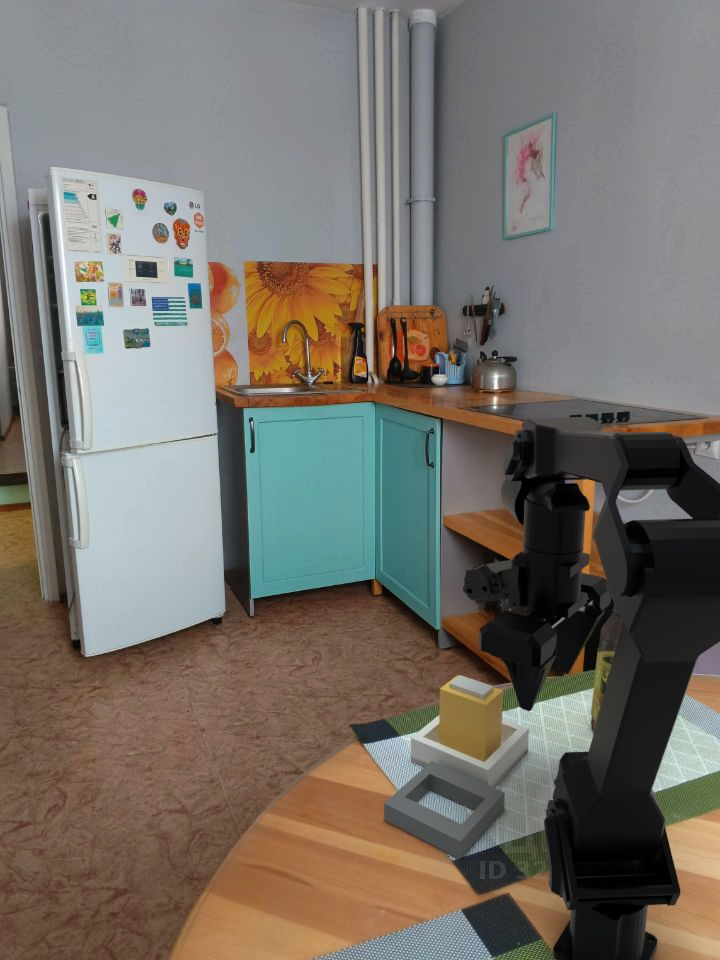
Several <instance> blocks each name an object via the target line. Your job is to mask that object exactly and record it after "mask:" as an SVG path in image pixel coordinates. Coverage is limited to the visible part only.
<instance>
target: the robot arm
mask: <svg viewBox="0 0 720 960" xmlns="http://www.w3.org/2000/svg"><path fill="white" fill-rule="evenodd" d="M603 427H604V425H603V424H602V423H601V422H599V421H597V420H595V419H594V418H591V417H589V416H580V417H579V416H574V417H571V416H570V417H566V416H565V417H563V416H562V417H527V418H526V419H524V420H523V421H522V423H521V429H519V430H518V429H517V430H516V431H515V434H514V437H513V441H511V443H510V446H509V447H508V449H507V450H508V451H507V453H506V455H505V457H504V461H503V464H502V469H503V474H504V476H505V479H504V481H503V484H502V486H501V488H500V497H501V501H502V504H503V505H504V507H505V508H506V509H507V510H508V512H509V513H510V514H511V515H512V516H513V517H514V519H516V521H517V522H518V523H519V524H520V525H521V526H523V534H522V535H523V538H522V551H520V552H519V553H517V554H515V555H514V556H513V557H512V559H509V560H502V561H496V562H490V563H487V564H486V563H485V564H482V565H480V566H478V567H477V566H476V565H474V566H472V567H470V568H468V569H466V570H465V575H464V577H463V580H464V581H463V582H464V583H463V586H462V591H463V593H465V595H466V597H467V598H468V599H469V600H471V601H474V603H475V604H476V605H482V604H483V605H484V604H485V603H486V602H493V601H499V600H500V601H501V600H507V606H509V607H514V608H518V609H519V608H520V609H521V608H524V611H525V612H527V613H528V615H523V614H519V613H515V612H512V611H507V610H504V611H502V612H501V613H499V614H497V616H495V617H494V618H492V619H490V621H488V622H487V623H485V624H483V625H482V626H481V627H480V628H479V629H478V649H479V650H480V652H484V653H487V654H489V655H490V656H492V657H495V658H498V659H500V660H501V661H502V662H503V664H504V665H505V668H506V669H507V672H508V674H509V677H510V680H511V683H512V686H513V689H514V690H513V691H514V693H515V696H516V700H517V702H518V705H519V708H520V709H521V710H524V711H526V712H531V711H532V710H533V709H534V706H535V704H536V702H537V700H538V697H540V696H539V695H540V694H541V691H542V689H543V686H544V684H545V682H546V679H547V677H548V674H549V673H550V670H551V668H552V666H553V664H554V662H555V659H556V662H557V670H558V672H559V673H562V674H565V675H568V674H570V673H571V671H572V669H573V667H574V666H575V663H576V662H577V661H578V658H579V656H580V655H581V654H582V653H581V652H582V651H583V649H584V648H585V645H587V643H588V641H589V639H590V638H591V636H592V634H593V632H594V631H595V629H596V627H597V626H598V624H599V622H600V620H601V619H602V617H603V616H604V615H605V613H606V608H607V607H608V606H610V604H611V600H612V602H613V605H614V604H615V606H616V608H617V610H618V612H619V614H620V616H621V618H622V626H621V630H620V634H619V638H618V642H617V646H616V649H615V653H614V657H613V661H612V665H611V669H610V672H609V676H608V680H607V684H606V688H605V691H604V695H603V699H602V703H601V707H600V711H599V714H598V718H597V722H596V726H595V730H593V733H592V738H591V742H590V746H589V749H588V751H569V752H568V751H566V752H564V753H563V754H562V756H561V757H560V759H559V764H558V770H557V775H556V777H555V779H554V780H553V785H554V786H555V788H554V790H553V794H552V799H549V800H548V802H547V808H546V809H545V818H544V820H543V827H544V832H545V841H546V849H547V856H548V857H547V858H548V866H549V867H548V868H549V870H548V871H549V875H548V877H549V880H548V886H549V890H550V892H552V893H553V894H555V895H557V896H558V897H559V898H562V899H563V902H564V904H565V907H566V910H567V911H570V914H569V915H570V917H569V921H568V923H567V924H566V925H565V927H564V929H563V931H562V932H561V934H560V935H559V937H558V938H557V940H556V942H555V943H554V945H553V949H552V954H553V956H554V957H555V958H556V959H558V960H652V958H653V956H654V954H655V952H656V949H657V948H658V938H657V937H656V936H655V935H654V934H651V933H650V932H648V931H646V929H647V919H648V906H658V905H666V906H668V907H670V906H671V907H672V906H674V907H675V906H676V904H677V902H678V900H679V898H680V895H681V887H680V883H679V878H678V874H677V871H676V870H677V869H676V866H675V863H674V859H673V855H672V851H671V850H672V849H671V845H670V842H669V838H668V834H667V830H666V825H665V824H666V818H665V816H664V813H663V811H662V809H661V806H660V804H659V802H658V799H657V797H656V795H655V793H654V790H653V787H654V784H655V781H656V778H657V776H658V773H659V770H660V767H661V765H662V761H663V759H664V756H665V752H666V750H667V748H668V746H669V745H668V744H669V742H670V738H671V735H672V733H673V730H674V728H675V724H676V721H677V719H678V716H679V713H680V710H681V708H682V707H681V706H682V705H683V702H684V699H685V696H686V694H687V693H686V692H687V690H688V687H689V684H690V681H691V678H692V676H693V672H694V671H695V666H696V663H697V661H698V659H699V657H700V656H701V655H702V654H704V653H705V652H706V651H708V650H709V649H711V648H712V647H714V646H716V645H717V644H718V643H720V482H718V481H717V480H716V479H715V478H713V476H712V475H710V474H709V473H707V472H706V471H705V470H704V469H702V468H701V467H700V466H699V465H698V464H696V463H695V462H694V459H693V457H692V455H691V452H690V450H689V448H688V446H687V443H686V442H685V439H684V438H683V437H682V436H680V435H677V434H672V433H671V432H668V431H639V432H638V431H637V432H630V431H629V432H626V431H609V430H604V429H603ZM584 480H585V481H586V480H589V481H593V482H596V483H600V484H601V486H602V490H603V492H604V495H605V500H604V502H603V505H602V508H601V510H600V513H599V514H598V518H597V521H596V523H595V526H594V527H593V531H592V532H593V533H592V534H593V535H592V537H593V539H594V542H595V546H596V550H597V552H598V556H599V559H600V563H601V566H602V568H603V569H602V570H603V572H604V576H605V577H603V576H599V575H595V574H590V573H585V572H583V570H584V568H586V567H587V566H589V565H590V561H591V559H590V558H591V554H590V553H587V552H584V544H585V543H584V541H585V530H586V529H585V526H586V512H589V511H590V509H591V505H590V502H589V499H588V498H587V496H586V495H585V494H584V493H583V492H582V490H581V489H580V486H579V484H578V483H577V482H570V483H568V482H566V481H584ZM647 490H648V491H654V490H655V491H658V490H661V491H662V490H665V491H666V493H667V496H668V497H669V499H670V500H671V501H672V502H673V503H674V504H676V505H677V506H678V507H679V508H680V509H682V511H683V512H685V513H686V514H688V516H690V518H665V519H664V518H663V519H658V518H657V519H632V520H630V521H627V522H626V523H623V520H622V519H623V518H622V516H621V514H620V511H619V508H618V505H617V499H618V497H619V495H620V492H622V491H647ZM593 600H594V603H593ZM555 649H556V650H555ZM555 651H556V654H555V653H554V652H555Z"/></svg>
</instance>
